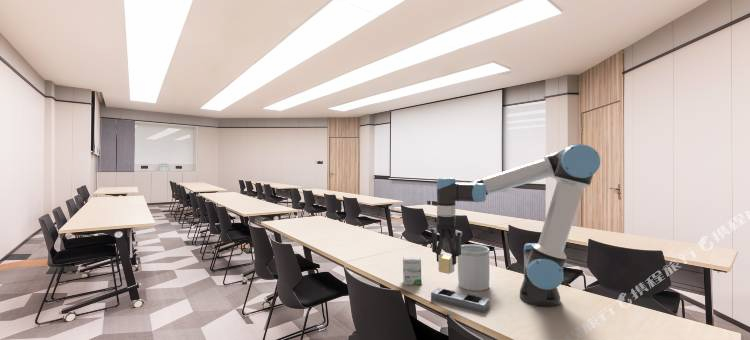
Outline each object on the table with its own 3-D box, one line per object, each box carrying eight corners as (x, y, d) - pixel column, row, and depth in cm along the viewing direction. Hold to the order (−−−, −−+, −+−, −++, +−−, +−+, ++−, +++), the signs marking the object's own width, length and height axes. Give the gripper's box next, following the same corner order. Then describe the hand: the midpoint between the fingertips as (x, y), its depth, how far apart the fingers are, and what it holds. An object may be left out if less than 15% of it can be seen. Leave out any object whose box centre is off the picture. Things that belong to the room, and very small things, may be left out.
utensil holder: (454, 288, 149) (453, 250, 149) (459, 278, 163) (459, 243, 162) (488, 293, 143) (488, 253, 143) (491, 282, 157) (491, 245, 156)
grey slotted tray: (489, 306, 130) (489, 298, 130) (483, 313, 124) (483, 305, 124) (438, 294, 143) (438, 287, 143) (431, 299, 137) (431, 292, 137)
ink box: (421, 281, 159) (421, 256, 159) (421, 285, 154) (421, 259, 154) (403, 280, 160) (402, 256, 160) (403, 284, 155) (402, 259, 155)
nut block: (453, 271, 137) (453, 256, 137) (449, 273, 134) (449, 259, 134) (443, 269, 140) (443, 255, 140) (439, 271, 136) (439, 257, 136)
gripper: (469, 215, 134) (470, 272, 135) (431, 212, 144) (431, 264, 145) (463, 218, 128) (463, 277, 129) (423, 214, 138) (423, 269, 139)
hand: (446, 270), depth 137 cm, fingers closed on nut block, 4 cm apart
